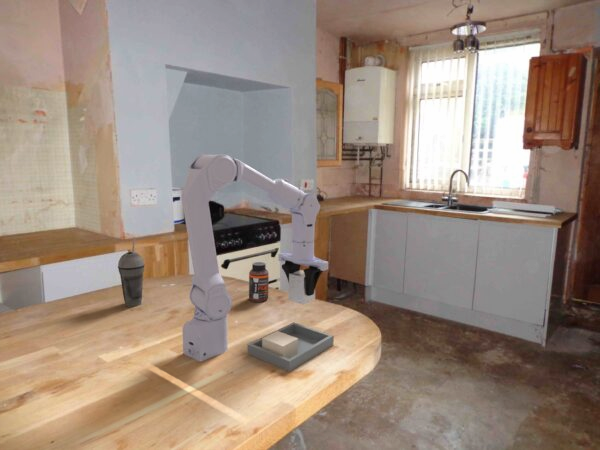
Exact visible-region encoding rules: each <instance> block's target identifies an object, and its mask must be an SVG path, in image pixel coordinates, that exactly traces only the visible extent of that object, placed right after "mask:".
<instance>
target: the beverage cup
mask: <svg viewBox="0 0 600 450" xmlns="http://www.w3.org/2000/svg"><path fill="white" fill-rule="evenodd" d="M135 245H136V236H133V237H132V246H131V247H132V248H131V249H132V250H131V251H128V252H126V253H124V254H123V255H121V257H120V258H119V260H118V265H117V268H118V269H117V270H118V273H119V275H120V282H121V287H122V288H121V289H122V295H123V300H124V305H125V306H126V307H131V308H133V307H138V306H140V305H142V303H143V302H142V298H143V287H144V286H143V284H144V283H143V282H144V281H143V280H144V270H145V266H146V265H145V261H144V259H143V258H142V256H141V255H140V254H139V253H138V252H135Z"/></svg>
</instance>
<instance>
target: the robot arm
mask: <svg viewBox="0 0 600 450" xmlns="http://www.w3.org/2000/svg"><path fill="white" fill-rule="evenodd" d="M232 182H241V183H244V184H246V185H249V186H251V187H253V188H254V189H257V190H260V191H261V192H264V193H265V194H266V197H267V199H268V201H270V202H272V203H274V204H276V205H278V206H280V207H282V208H284V209H286V210H288V212H289V213H290V214H291V246H290V247H291V252H290V253H289V252H279V253H278V261H279V262H285V263H283V264H281V269H282V270H283V272H284V274H285V276H286V278H287V281H288V283H289V274H290V273H293V272H296V271H299V270H301V266H303V267H308V268H305V269H303V270H304V274H305V278H306V292H307V296H310V295H313V294H314V291H315V292H316V286H317V283H318V281H319V279H320V277H321V275H322V273H323V272H325V271H327V270H329V261H326V260H324V259H321V258H318V257H316V256H315V232H316V231H315V227H316V226H315V225H316V224H315V223H316V222H317V215H318V214H319V212H320V210H321V204H320V203H319V200H318V198H317V196H316V195H314V194H313V193H308V192H304V188H303V187H300V186H299V187H297V186H295V185H293V184H291V183H290V180H289V179H287V178H284V177H282V178H276V179H272V178H270V177H268V176H266V175H264V174H263V173H261V172H260V171H258V170H256V169H254V168H252V167H251V166H249V164H246V163H244V162H243V161H241V160H240V159H237V158H232V157H231V156H230V155H227V154H222V153H221V154H209V153H202V154H200V155H197V157H196V158H195V159H194V160H193V161H192V162H191V163H190V164H189V165H188V174H187V176H186V180H185V182H184V186H183V188H182V190H181V197H180V198H181V203H182V209H183V214H184V215H183V216H184V220H185V226H186V232H187V239H188V244H189V245H188V246H189V251H190V256H191V262H192V267H193V276H192V277H191V279H190V282H191V283H190V284H191V285H190V286H191V287H190V291H189V300H190V302H191V304H192V305H194V311H193V316H192V318H191V319H190V320H188V321H186V322H185V323H184V324H183V327H182V352H183V353H182V354H184V356H187V357H189V358H191V359H194V360H196V361H197V362H203V361H206V360H208V359H210V358H213V357H216V356H220V355H222V354H225V353H226V352H227V350H228V314H229V312H230V311H231V310H232V309H231V308H232V306H233V299H232V296H231V294H229V292H228V291H227V286H226V282H225V281H224V278H223V277H222V275H221V273H220V270H219V263H218V257H217V251H216V250H217V249H216V243H215V238H214V237H215V236H214V230H213V224H212V217H211V210H210V203H209V202H210V201H211V199H212V198H213V197H214V196H215V195H216V194H217V192H219V191H220V190H222V189H224V188H225V187H227V186H228V185H230V184H231V183H232Z"/></svg>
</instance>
